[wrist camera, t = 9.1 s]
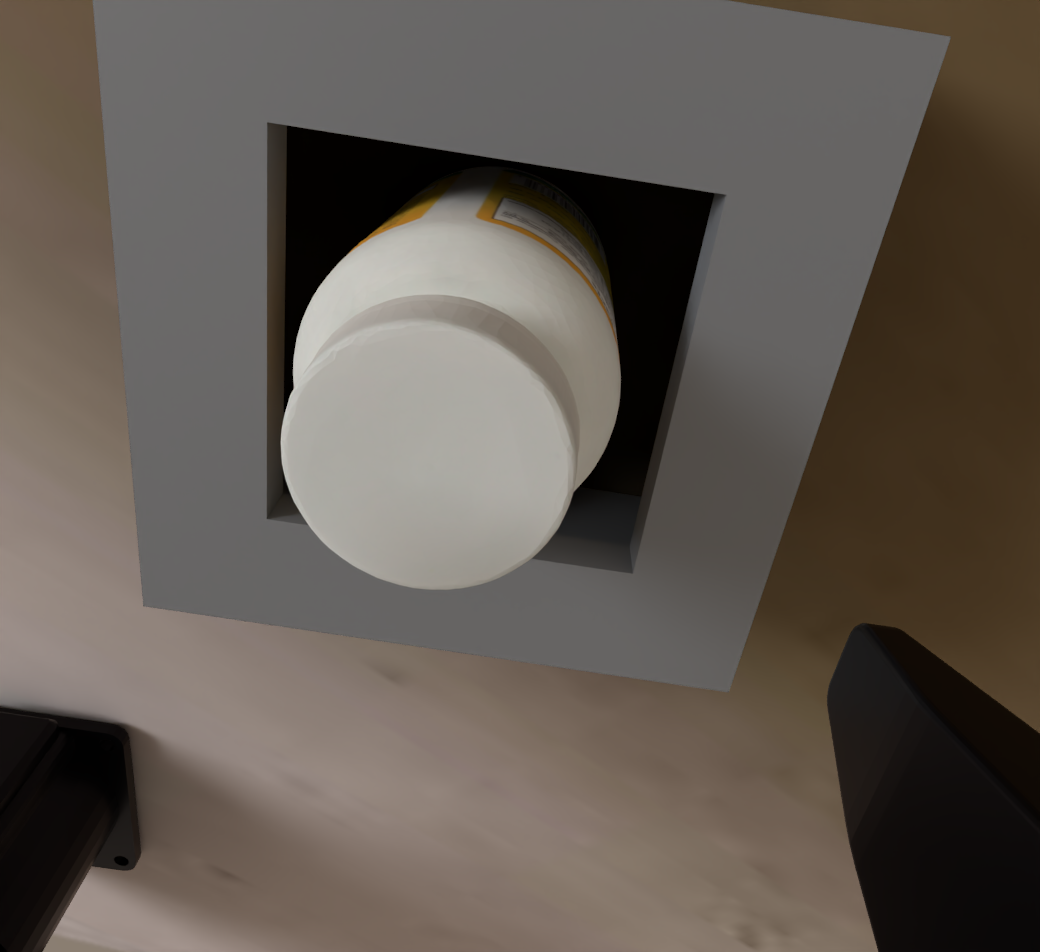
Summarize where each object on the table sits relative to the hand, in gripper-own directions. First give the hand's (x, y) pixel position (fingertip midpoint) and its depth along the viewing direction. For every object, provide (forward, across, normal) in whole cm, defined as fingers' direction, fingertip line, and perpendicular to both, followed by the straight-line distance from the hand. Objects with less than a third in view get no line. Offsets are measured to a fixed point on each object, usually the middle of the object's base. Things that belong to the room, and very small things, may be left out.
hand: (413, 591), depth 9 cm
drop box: (+12, 0, 0) cm, 12 cm away
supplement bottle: (+13, 0, 0) cm, 13 cm away
